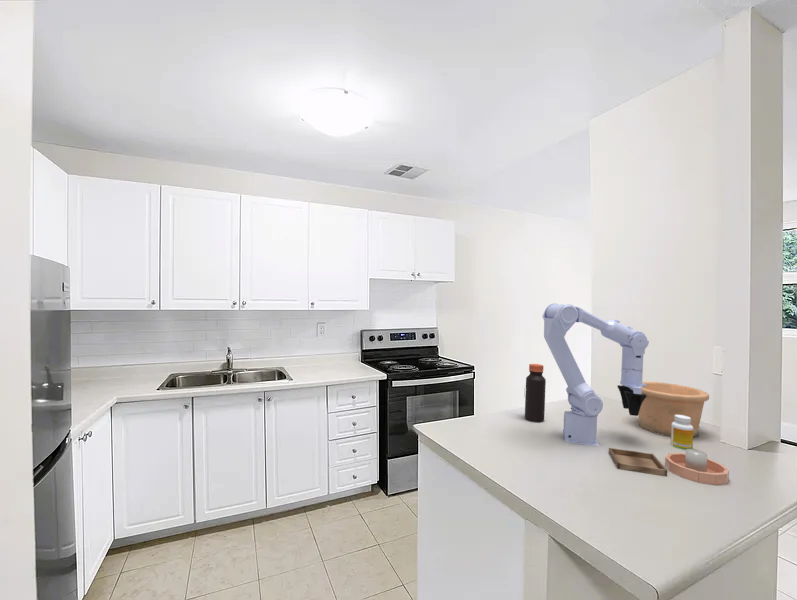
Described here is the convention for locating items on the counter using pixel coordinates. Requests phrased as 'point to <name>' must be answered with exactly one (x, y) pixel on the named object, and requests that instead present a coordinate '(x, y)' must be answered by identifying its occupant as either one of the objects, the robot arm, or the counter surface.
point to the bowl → (713, 476)
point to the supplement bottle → (682, 432)
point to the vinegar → (535, 394)
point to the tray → (637, 462)
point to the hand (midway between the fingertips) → (630, 411)
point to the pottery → (670, 406)
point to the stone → (696, 460)
